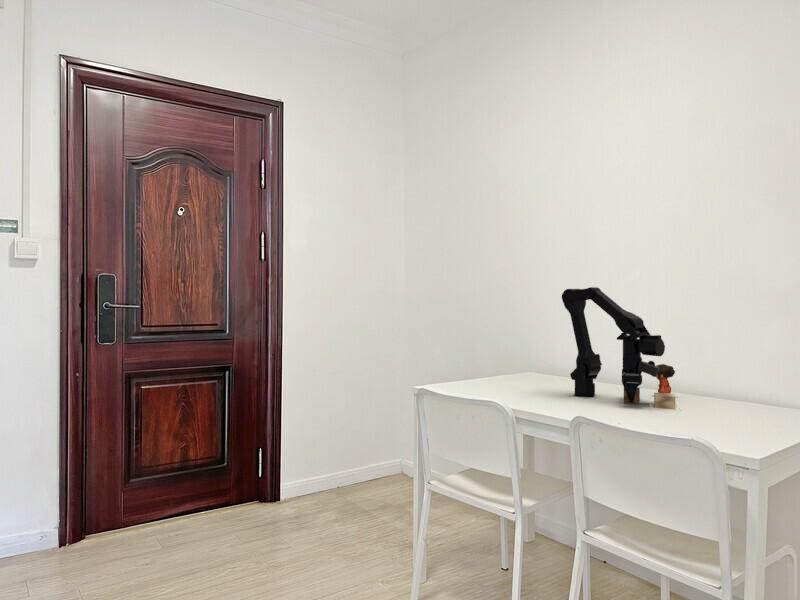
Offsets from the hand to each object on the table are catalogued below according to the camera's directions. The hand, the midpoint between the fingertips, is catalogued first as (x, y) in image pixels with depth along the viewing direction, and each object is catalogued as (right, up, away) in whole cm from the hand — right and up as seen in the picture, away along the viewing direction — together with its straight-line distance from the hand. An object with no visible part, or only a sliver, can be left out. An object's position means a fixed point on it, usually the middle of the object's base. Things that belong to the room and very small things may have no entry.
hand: (631, 399), depth 205 cm
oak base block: (+8, -1, -7) cm, 11 cm away
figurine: (+16, -1, +12) cm, 20 cm away
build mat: (+4, -2, -5) cm, 6 cm away
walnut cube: (0, -1, 0) cm, 1 cm away
